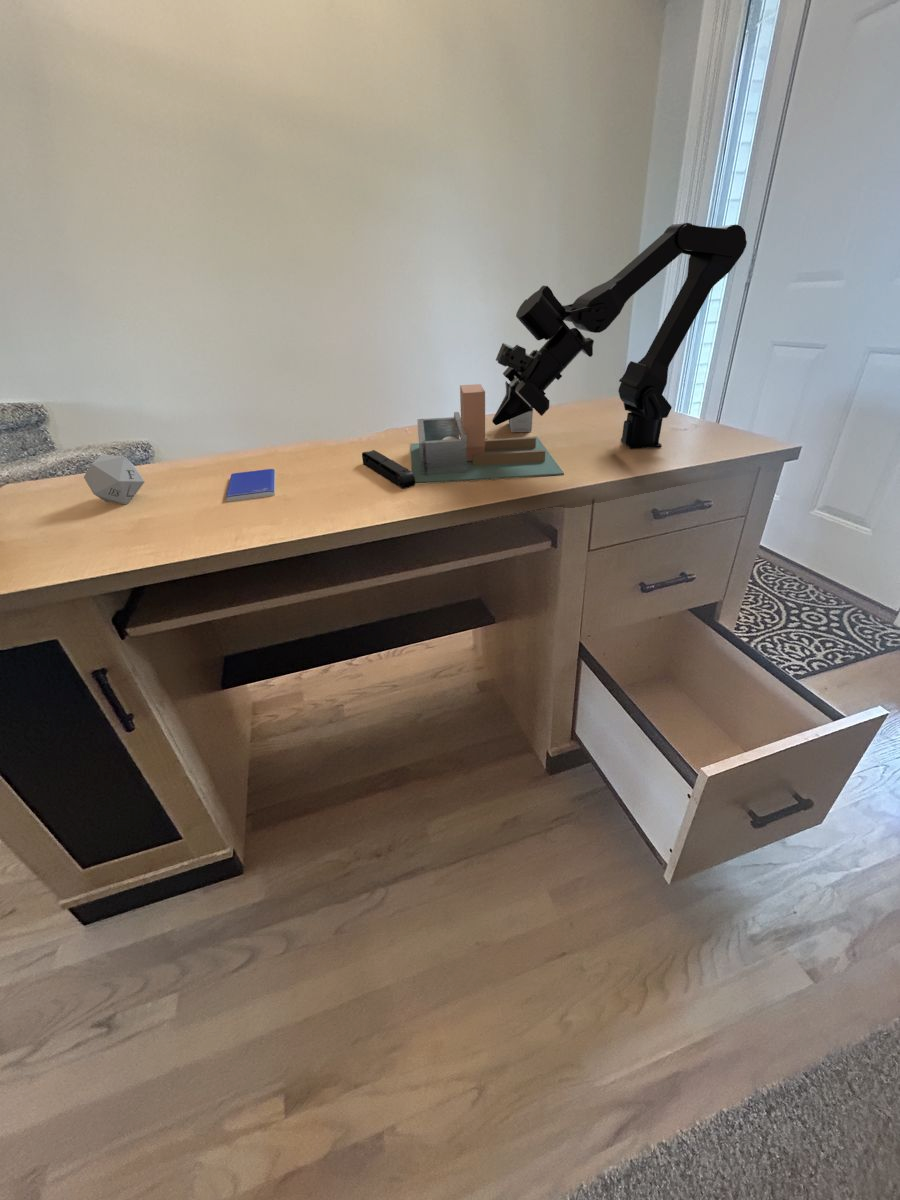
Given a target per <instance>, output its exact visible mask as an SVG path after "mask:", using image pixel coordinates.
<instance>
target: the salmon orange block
mask: <svg viewBox="0 0 900 1200" xmlns="http://www.w3.org/2000/svg"><path fill="white" fill-rule="evenodd" d="M459 395H460V396H459V397H460V399H459V400H460V417H461V420H462V423H463V426H464V429H465V432H466V434H467V441H466V452H467V461H473V454H480V453H485V439H486V391H485V389H484V387H483V386H482V384H480V383H479V384H477V383H475V384H462V385H459Z"/></svg>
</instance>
